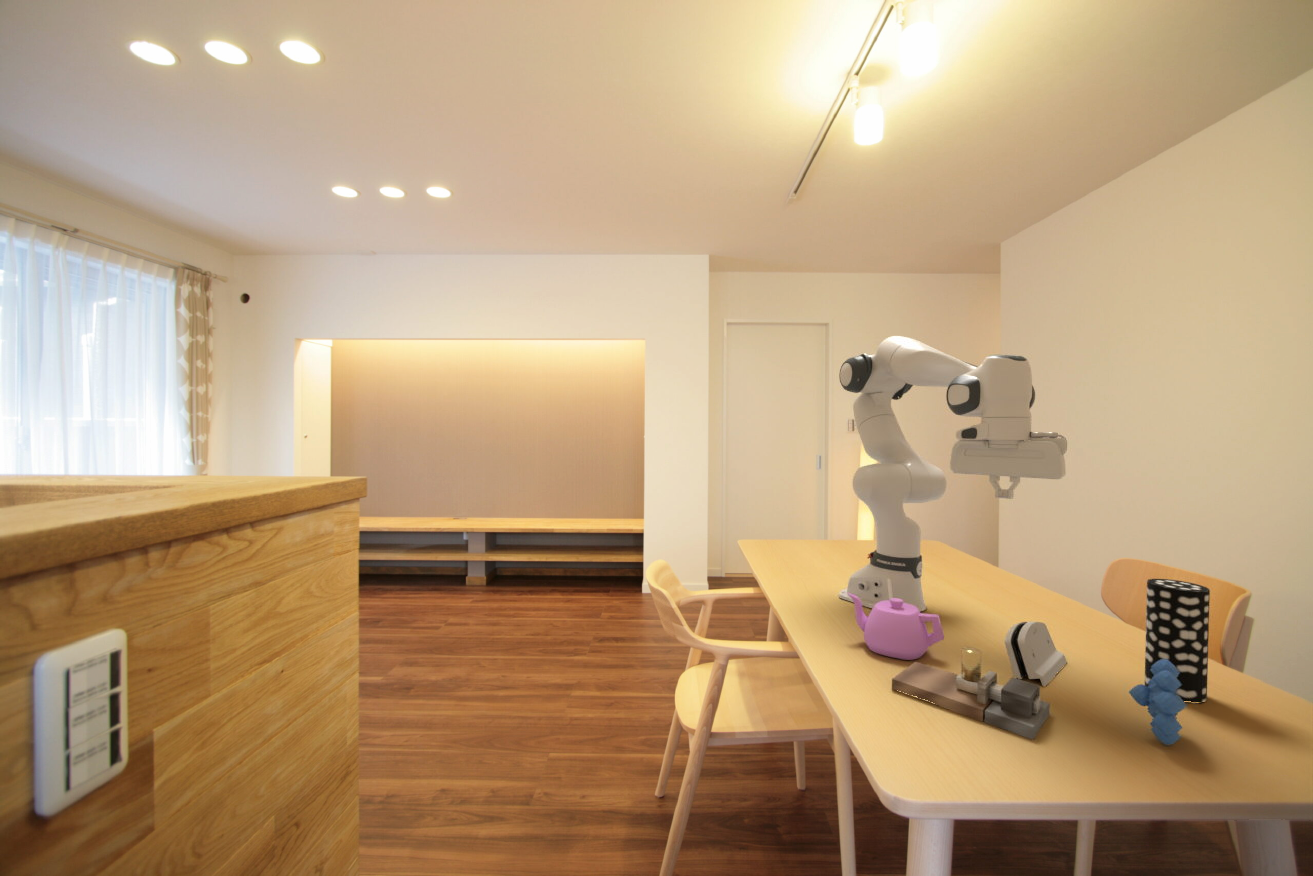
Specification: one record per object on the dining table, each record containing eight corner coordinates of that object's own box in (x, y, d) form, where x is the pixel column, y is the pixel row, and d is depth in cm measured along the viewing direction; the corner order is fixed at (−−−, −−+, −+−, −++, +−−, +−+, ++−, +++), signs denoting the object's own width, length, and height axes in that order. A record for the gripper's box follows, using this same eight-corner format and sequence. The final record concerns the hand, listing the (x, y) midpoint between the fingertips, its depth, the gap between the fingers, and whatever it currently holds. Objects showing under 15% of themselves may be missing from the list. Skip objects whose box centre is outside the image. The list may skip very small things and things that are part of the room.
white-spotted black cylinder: (1134, 686, 102) (1137, 581, 102) (1159, 678, 106) (1161, 576, 105) (1192, 707, 95) (1195, 593, 94) (1216, 698, 98) (1219, 588, 98)
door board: (891, 689, 100) (892, 660, 100) (915, 671, 108) (916, 644, 108) (1033, 739, 84) (1033, 705, 84) (1049, 714, 92) (1050, 683, 92)
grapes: (1127, 713, 93) (1128, 644, 92) (1182, 728, 88) (1183, 654, 88) (1128, 743, 84) (1130, 666, 83) (1189, 761, 79) (1192, 679, 79)
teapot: (854, 629, 131) (854, 584, 130) (947, 649, 119) (948, 599, 119) (837, 648, 120) (838, 598, 119) (938, 672, 108) (939, 616, 108)
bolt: (955, 688, 96) (956, 649, 96) (961, 683, 98) (961, 644, 98) (1036, 714, 88) (1037, 671, 87) (1040, 708, 90) (1041, 666, 89)
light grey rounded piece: (1045, 687, 102) (1025, 632, 104) (1017, 687, 105) (998, 634, 108) (1067, 662, 113) (1049, 613, 115) (1042, 663, 116) (1024, 615, 119)
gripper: (1070, 432, 107) (1069, 501, 108) (958, 431, 122) (956, 492, 123) (1063, 432, 103) (1062, 504, 103) (948, 431, 118) (946, 494, 118)
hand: (1004, 498), depth 113 cm, fingers closed
